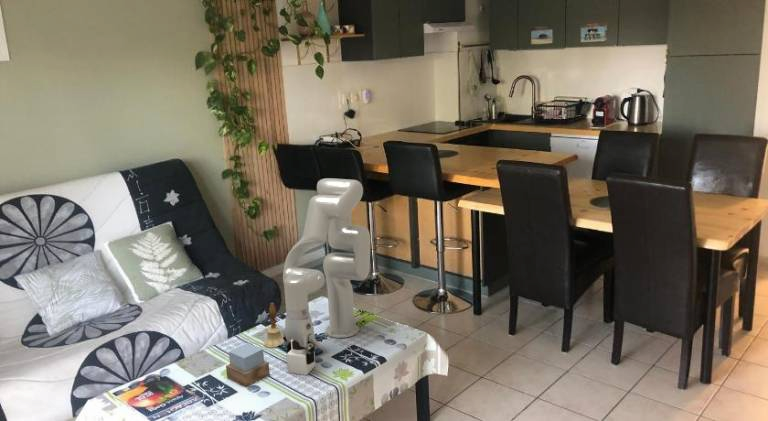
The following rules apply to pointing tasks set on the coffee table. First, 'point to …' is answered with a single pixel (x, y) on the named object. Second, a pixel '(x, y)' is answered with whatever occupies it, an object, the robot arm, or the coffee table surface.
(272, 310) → the hand bell
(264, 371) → the block base
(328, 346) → the coffee table surface
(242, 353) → the block top
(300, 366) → the medicine bottle
